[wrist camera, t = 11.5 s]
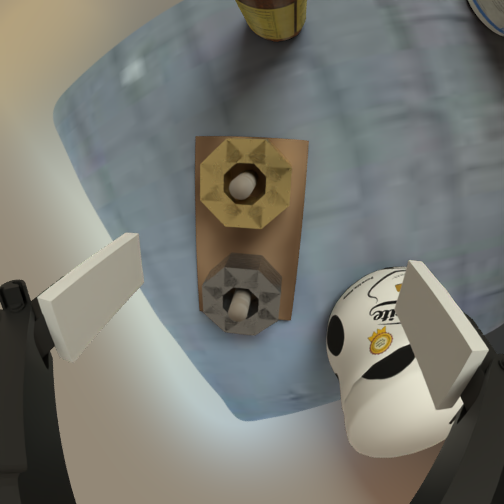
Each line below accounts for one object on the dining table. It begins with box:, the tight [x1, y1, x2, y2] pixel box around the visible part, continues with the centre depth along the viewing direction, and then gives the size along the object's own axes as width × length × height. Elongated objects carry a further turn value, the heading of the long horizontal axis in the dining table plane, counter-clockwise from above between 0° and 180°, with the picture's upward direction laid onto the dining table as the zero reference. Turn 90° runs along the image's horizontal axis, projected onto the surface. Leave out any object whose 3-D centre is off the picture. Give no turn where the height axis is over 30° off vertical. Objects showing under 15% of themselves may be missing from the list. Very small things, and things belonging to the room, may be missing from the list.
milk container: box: [326, 267, 463, 458], centre depth 28 cm, size 17×17×18 cm
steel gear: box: [202, 253, 282, 336], centre depth 34 cm, size 9×9×4 cm
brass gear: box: [200, 138, 292, 229], centre depth 29 cm, size 9×9×4 cm
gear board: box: [195, 136, 309, 322], centre depth 31 cm, size 12×22×7 cm, turn 178°
